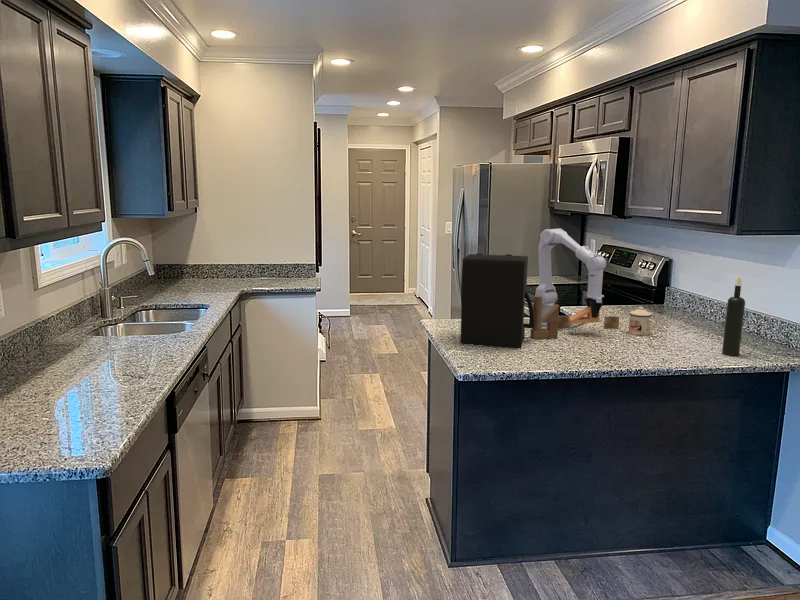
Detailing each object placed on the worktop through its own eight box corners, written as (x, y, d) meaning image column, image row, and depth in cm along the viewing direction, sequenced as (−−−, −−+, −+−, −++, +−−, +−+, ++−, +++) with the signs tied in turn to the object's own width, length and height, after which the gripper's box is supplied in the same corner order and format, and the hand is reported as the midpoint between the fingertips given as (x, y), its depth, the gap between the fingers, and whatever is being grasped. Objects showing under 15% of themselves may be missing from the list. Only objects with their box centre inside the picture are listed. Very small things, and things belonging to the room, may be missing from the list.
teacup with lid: (623, 332, 262) (625, 306, 260) (637, 330, 267) (639, 304, 265) (646, 338, 252) (648, 311, 250) (660, 335, 257) (663, 309, 254)
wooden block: (557, 338, 251) (559, 296, 248) (533, 339, 250) (535, 296, 246) (554, 336, 255) (556, 294, 252) (530, 337, 253) (531, 295, 250)
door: (571, 327, 269) (572, 316, 268) (569, 327, 270) (569, 316, 269) (585, 322, 280) (586, 311, 280) (583, 321, 281) (583, 311, 280)
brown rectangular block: (555, 328, 269) (556, 316, 268) (554, 327, 271) (555, 315, 270) (618, 328, 269) (619, 316, 268) (617, 328, 270) (618, 316, 269)
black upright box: (534, 337, 252) (538, 255, 246) (531, 349, 234) (535, 260, 227) (468, 333, 260) (470, 252, 253) (460, 344, 241) (462, 258, 235)
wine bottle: (719, 354, 229) (728, 276, 223) (724, 351, 233) (733, 274, 227) (736, 357, 225) (745, 278, 219) (741, 354, 229) (750, 276, 223)
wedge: (571, 323, 255) (570, 310, 254) (568, 321, 260) (568, 307, 259) (599, 322, 255) (599, 308, 254) (596, 319, 259) (596, 306, 258)
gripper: (610, 288, 247) (607, 320, 250) (599, 282, 261) (597, 312, 264) (592, 287, 247) (590, 319, 250) (583, 282, 262) (581, 312, 264)
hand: (592, 316), depth 257 cm, fingers closed on wedge, 4 cm apart
